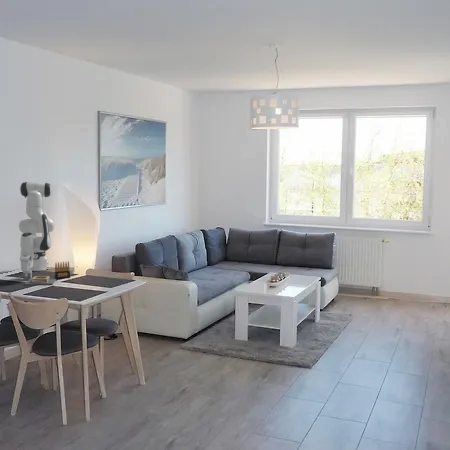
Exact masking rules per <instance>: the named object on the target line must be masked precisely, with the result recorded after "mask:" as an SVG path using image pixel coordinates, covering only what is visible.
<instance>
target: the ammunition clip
mask: <svg viewBox="0 0 450 450" xmlns="http://www.w3.org/2000/svg"><path fill="white" fill-rule="evenodd" d="M54 264H55V265H54V279H56V280H58V279H59V280H60V279H70V278H71V268H70V267H71V266H70V261H69V260H68V261H65V262H64V261H63V262H62V261H61V262H59V261H58V263H57V262H55V263H54Z"/></svg>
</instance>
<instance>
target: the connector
mask: <svg viewBox="0 0 450 450" xmlns="http://www.w3.org/2000/svg"><path fill="white" fill-rule="evenodd" d="M22 275H23V276H22V277H23V279H22V280H23V281H28V280H29V279H32V278H33V271H32V270H28V276H27V277H26V276H25V272H22Z"/></svg>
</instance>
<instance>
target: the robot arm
mask: <svg viewBox="0 0 450 450" xmlns="http://www.w3.org/2000/svg"><path fill="white" fill-rule="evenodd" d="M19 191H20V195H21V196H23V197H24V198H26V204H25V213H26V215H27V216H28V217H29V218H26V219H22V220H20V221H19V223H18V229H19V231H20V232H21V233H22V234H21V236H20V245H19V246H20V257H19V261H20V270H21V272H22V273H23V272H25V276H26V277H27V276H28V270H32V272H34V271H36V272H38V271H40V272H42V271H47V269H48V270H50V269H51V265H50V264H49V262H48V258H47V257H46V255H47V254H46V253H47V251H48V250H50V249H51V247H52V240H51V236H50V232H54V229H55V226H56V224H55V222H54V219H51V218H50V217H49V215H48V214H47V213H46V206H45V205H46V204H45V201H46V200H45V198H49V197H50V196H51V194H52V192H53V188H52V186H51V183H48V182H40V181H30V182H28V181H23V182H21V184H20V186H19ZM37 234H41V236H38V235H37ZM47 267H49V268H50V269H49V268H47Z"/></svg>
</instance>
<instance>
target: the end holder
mask: <svg viewBox="0 0 450 450" xmlns="http://www.w3.org/2000/svg"><path fill="white" fill-rule="evenodd" d="M50 277H51V276H50V275H41V276H40V275H35V276H32V279H29V280H26V282H25V283H24V286H52V285H53V284H54V283H56V281H57V279H55V278H50Z"/></svg>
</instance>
